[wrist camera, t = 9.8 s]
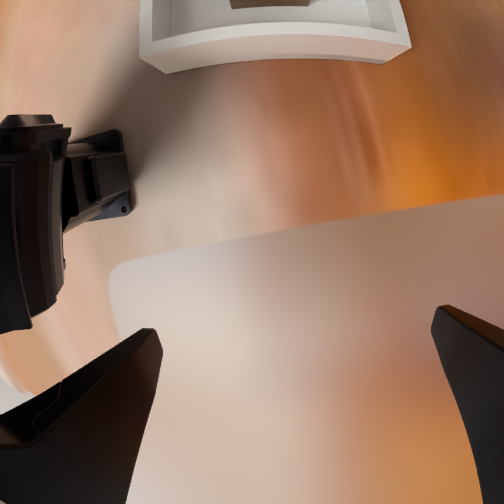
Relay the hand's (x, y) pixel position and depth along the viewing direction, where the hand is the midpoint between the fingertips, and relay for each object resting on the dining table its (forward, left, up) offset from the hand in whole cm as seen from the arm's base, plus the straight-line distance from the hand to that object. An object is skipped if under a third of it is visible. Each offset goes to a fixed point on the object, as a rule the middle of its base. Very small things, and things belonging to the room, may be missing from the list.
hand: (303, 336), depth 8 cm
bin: (0, +18, -12) cm, 21 cm away
